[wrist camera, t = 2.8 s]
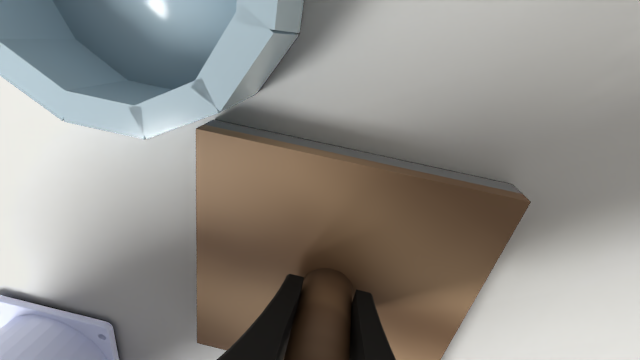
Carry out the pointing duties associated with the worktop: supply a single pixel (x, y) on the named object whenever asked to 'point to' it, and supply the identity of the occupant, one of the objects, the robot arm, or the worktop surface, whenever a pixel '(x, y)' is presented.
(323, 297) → the lid
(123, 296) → the worktop surface
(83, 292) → the worktop surface
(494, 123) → the worktop surface
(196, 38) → the bowl
